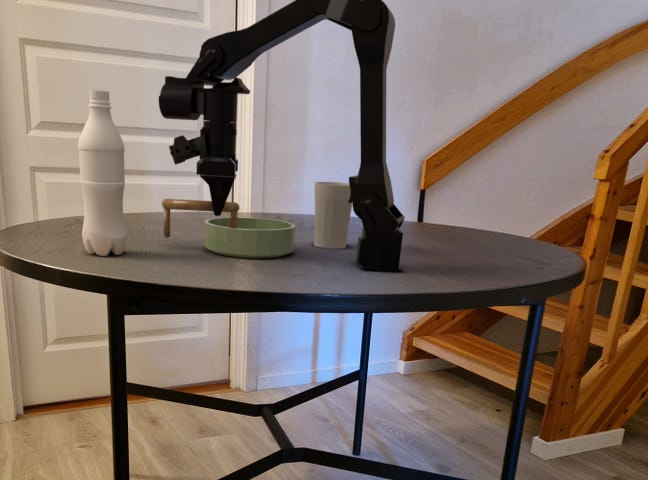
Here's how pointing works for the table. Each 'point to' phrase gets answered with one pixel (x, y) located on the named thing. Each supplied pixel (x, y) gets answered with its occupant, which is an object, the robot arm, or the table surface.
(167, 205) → the wooden dowel frame
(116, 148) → the water bottle
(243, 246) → the bowl
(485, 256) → the table surface
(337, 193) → the cup
